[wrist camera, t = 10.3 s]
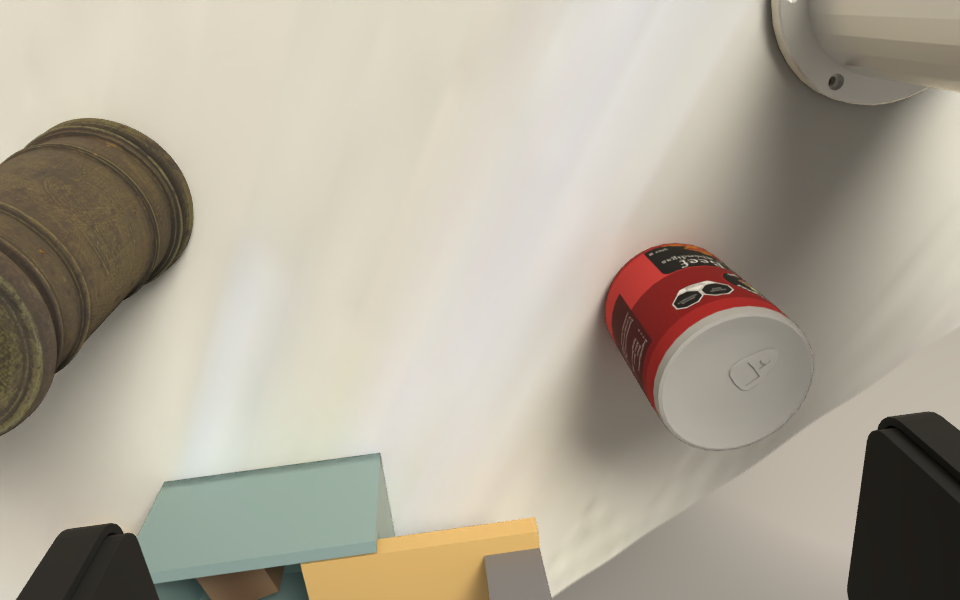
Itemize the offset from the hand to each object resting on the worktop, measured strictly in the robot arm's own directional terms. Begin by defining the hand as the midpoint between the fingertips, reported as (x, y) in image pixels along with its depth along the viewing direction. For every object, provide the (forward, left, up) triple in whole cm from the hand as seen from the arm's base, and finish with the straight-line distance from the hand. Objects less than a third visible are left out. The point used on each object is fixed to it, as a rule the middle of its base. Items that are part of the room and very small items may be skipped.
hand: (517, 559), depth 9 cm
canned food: (-13, +12, -34) cm, 38 cm away
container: (+18, +2, -34) cm, 38 cm away
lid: (+4, +25, -26) cm, 36 cm away
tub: (+13, +25, -33) cm, 44 cm away
